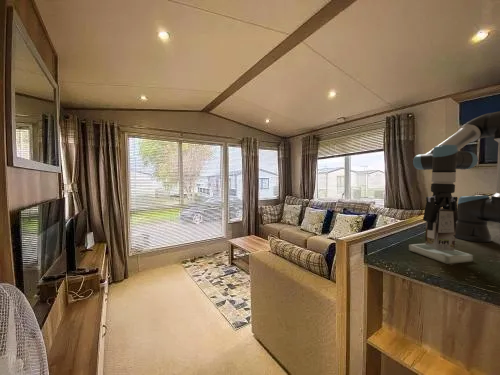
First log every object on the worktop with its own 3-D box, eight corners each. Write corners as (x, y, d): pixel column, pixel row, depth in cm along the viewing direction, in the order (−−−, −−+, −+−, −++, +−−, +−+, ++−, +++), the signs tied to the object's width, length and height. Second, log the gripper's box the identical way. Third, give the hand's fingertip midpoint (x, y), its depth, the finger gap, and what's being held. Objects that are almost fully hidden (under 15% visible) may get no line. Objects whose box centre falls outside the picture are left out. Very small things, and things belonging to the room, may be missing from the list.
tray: (431, 248, 104) (431, 242, 104) (472, 261, 88) (473, 255, 88) (408, 250, 101) (408, 244, 101) (447, 264, 85) (447, 257, 85)
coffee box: (455, 251, 89) (458, 211, 88) (436, 250, 91) (439, 210, 90) (440, 244, 98) (443, 208, 97) (424, 243, 100) (426, 207, 99)
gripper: (452, 182, 99) (449, 233, 100) (413, 182, 94) (410, 236, 95) (472, 183, 92) (468, 238, 93) (432, 183, 87) (428, 241, 88)
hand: (439, 237), depth 94 cm, fingers closed on coffee box, 8 cm apart
